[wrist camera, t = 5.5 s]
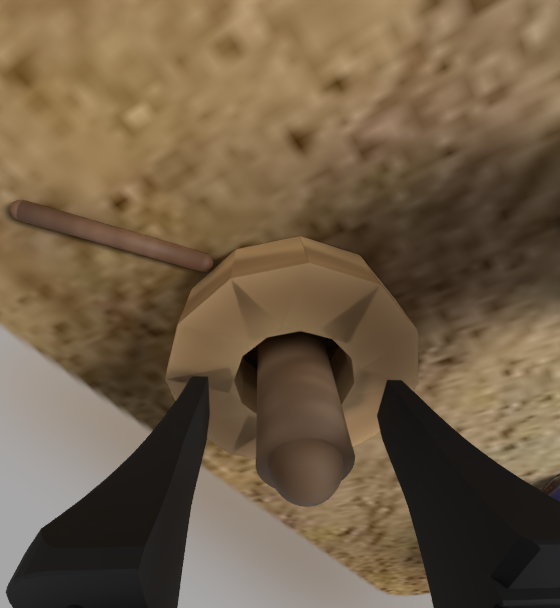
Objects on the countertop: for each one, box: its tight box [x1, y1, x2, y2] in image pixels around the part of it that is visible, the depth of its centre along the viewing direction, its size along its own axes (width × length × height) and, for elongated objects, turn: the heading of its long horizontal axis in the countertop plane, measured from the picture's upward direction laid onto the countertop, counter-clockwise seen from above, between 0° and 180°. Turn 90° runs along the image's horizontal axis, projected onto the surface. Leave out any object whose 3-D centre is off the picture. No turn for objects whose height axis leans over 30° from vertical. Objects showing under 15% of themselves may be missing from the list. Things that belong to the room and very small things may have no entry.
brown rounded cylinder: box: [256, 331, 355, 507], centre depth 14 cm, size 3×3×8 cm
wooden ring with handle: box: [10, 200, 419, 459], centre depth 15 cm, size 18×10×3 cm, turn 71°
